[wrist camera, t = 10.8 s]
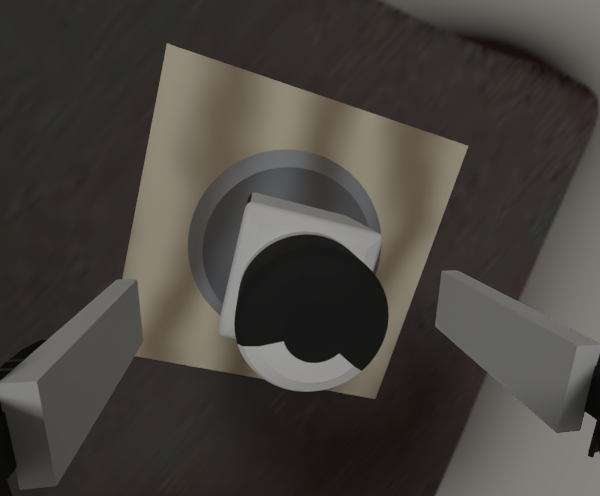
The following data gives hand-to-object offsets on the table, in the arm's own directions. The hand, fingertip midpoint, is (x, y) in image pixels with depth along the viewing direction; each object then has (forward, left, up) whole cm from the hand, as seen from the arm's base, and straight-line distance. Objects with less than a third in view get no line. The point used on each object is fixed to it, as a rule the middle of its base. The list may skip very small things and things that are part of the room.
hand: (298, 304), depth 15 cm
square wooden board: (0, 0, -12) cm, 12 cm away
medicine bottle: (0, 0, -10) cm, 10 cm away
